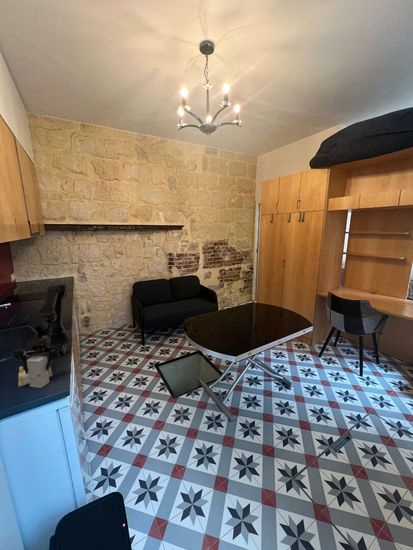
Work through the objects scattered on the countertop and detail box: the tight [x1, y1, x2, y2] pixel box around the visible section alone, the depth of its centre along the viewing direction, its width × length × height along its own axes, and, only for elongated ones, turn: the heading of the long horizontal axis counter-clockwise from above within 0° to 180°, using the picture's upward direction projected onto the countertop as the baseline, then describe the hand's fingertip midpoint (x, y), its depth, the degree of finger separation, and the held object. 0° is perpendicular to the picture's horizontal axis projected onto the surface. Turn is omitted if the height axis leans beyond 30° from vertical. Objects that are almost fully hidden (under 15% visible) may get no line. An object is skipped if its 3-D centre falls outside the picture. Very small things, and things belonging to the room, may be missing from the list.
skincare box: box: [27, 355, 50, 389], centre depth 99 cm, size 6×4×12 cm
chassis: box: [17, 358, 53, 387], centre depth 107 cm, size 12×12×4 cm
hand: (36, 372), depth 98 cm, fingers open, 7 cm apart
